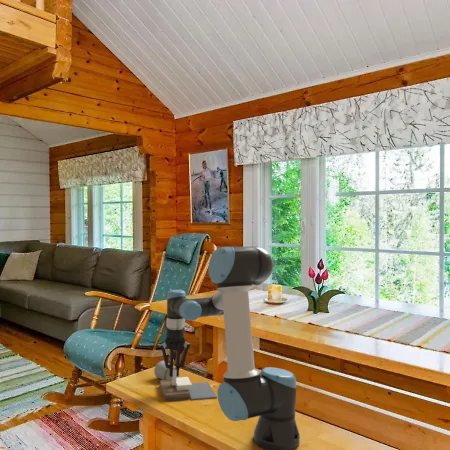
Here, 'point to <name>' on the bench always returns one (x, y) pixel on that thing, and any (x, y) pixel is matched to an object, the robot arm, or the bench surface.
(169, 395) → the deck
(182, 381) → the white rectangular block
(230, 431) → the bench surface
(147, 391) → the bench surface
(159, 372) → the ceramic mug
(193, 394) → the mat
